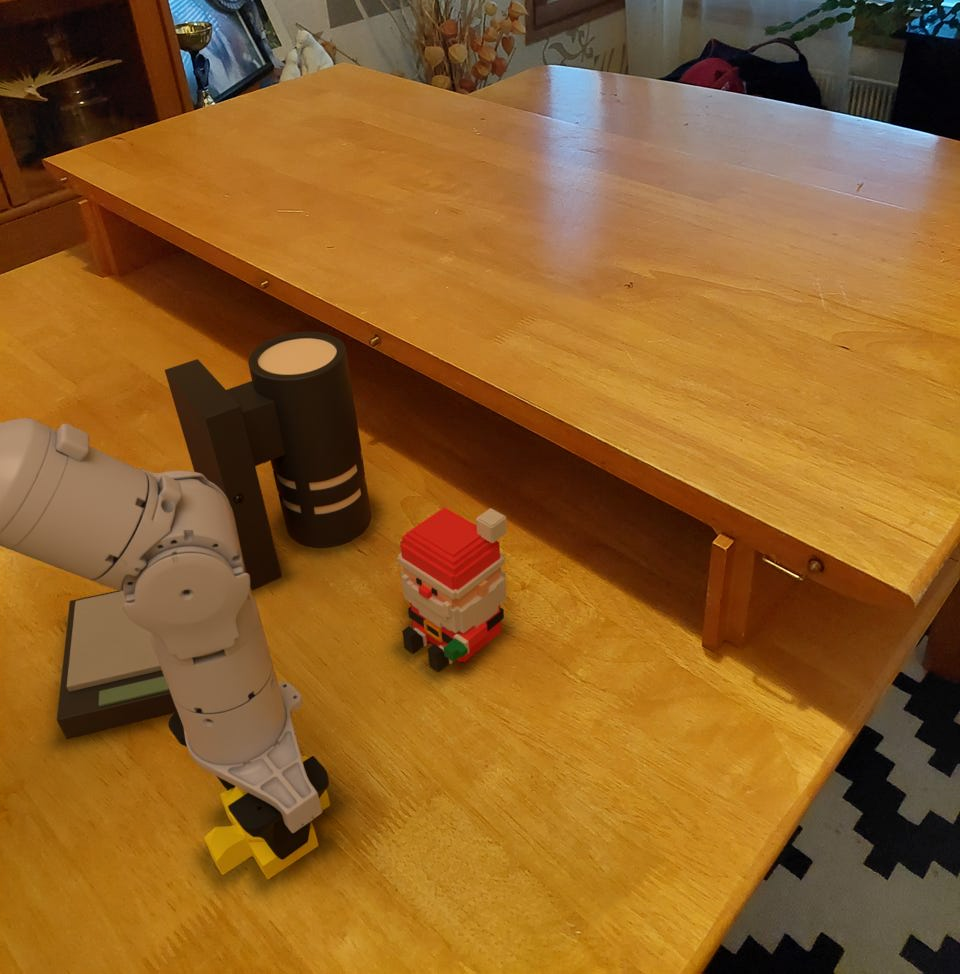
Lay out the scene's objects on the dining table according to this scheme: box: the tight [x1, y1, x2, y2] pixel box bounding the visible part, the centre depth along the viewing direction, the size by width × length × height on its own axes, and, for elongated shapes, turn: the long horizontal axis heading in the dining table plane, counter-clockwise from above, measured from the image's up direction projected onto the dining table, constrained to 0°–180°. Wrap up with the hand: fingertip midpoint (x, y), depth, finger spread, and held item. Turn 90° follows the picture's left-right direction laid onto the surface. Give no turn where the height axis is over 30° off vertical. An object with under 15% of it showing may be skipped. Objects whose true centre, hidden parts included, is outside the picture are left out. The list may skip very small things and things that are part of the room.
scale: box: [56, 590, 177, 739], centre depth 74 cm, size 13×11×3 cm
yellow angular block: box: [203, 754, 331, 881], centre depth 59 cm, size 6×8×8 cm
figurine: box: [397, 506, 508, 672], centre depth 71 cm, size 8×7×12 cm
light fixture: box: [164, 331, 372, 591], centre depth 81 cm, size 10×14×18 cm
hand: (266, 813), depth 60 cm, fingers closed on yellow angular block, 6 cm apart
